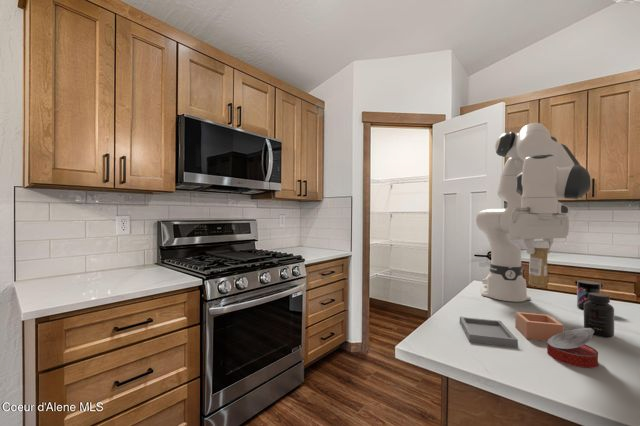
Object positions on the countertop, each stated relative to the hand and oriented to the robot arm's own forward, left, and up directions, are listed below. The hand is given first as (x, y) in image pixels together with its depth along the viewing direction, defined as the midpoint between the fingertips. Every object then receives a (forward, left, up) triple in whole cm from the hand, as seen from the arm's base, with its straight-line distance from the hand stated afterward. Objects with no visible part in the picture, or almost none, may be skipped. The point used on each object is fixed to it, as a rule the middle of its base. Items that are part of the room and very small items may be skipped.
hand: (538, 253), depth 89 cm
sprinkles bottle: (0, 0, -10) cm, 10 cm away
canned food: (+14, +2, -25) cm, 29 cm away
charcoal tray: (+4, -15, -24) cm, 29 cm away
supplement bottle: (-7, +19, -25) cm, 32 cm away
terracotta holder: (0, 0, -24) cm, 24 cm away
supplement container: (-35, +30, -25) cm, 52 cm away
